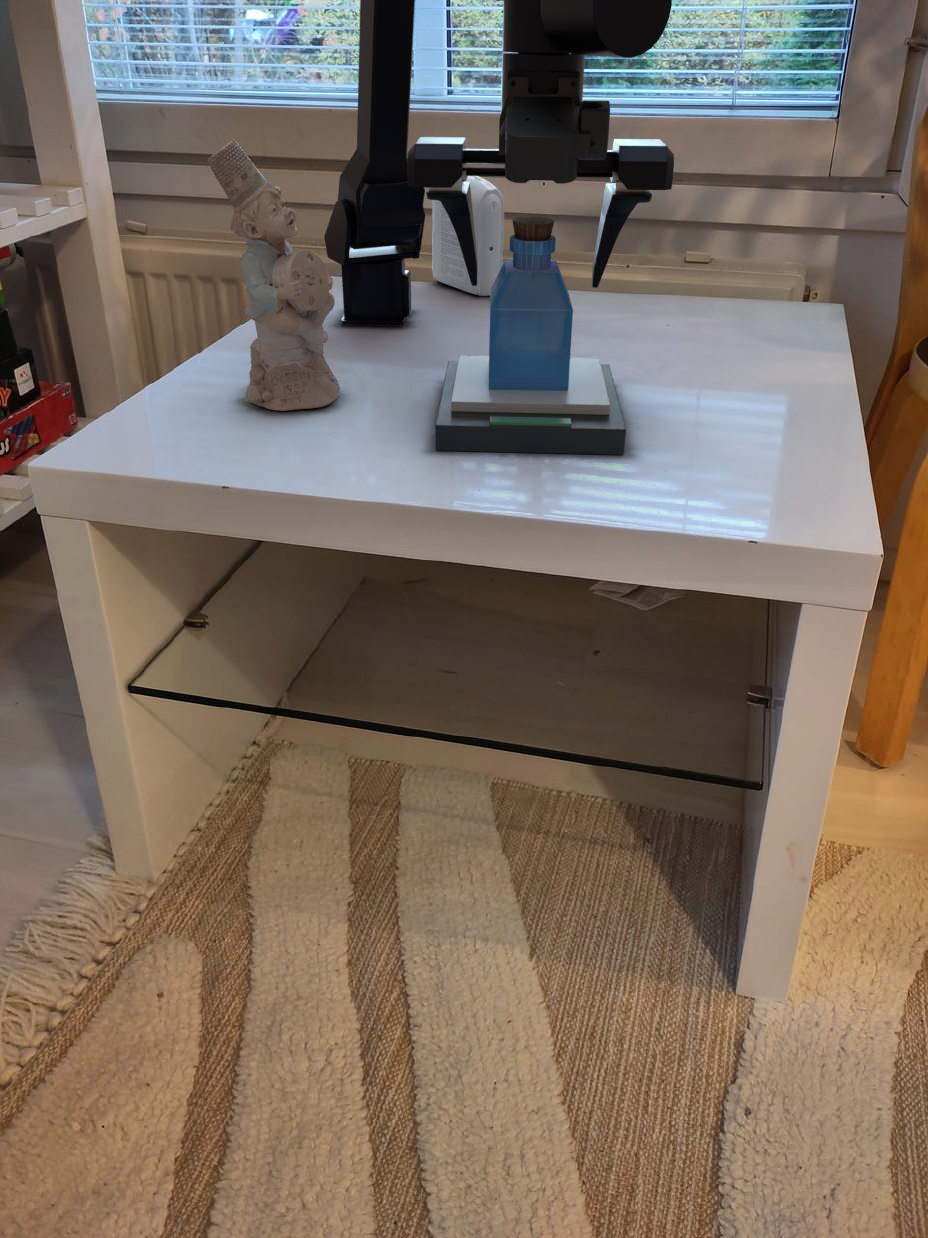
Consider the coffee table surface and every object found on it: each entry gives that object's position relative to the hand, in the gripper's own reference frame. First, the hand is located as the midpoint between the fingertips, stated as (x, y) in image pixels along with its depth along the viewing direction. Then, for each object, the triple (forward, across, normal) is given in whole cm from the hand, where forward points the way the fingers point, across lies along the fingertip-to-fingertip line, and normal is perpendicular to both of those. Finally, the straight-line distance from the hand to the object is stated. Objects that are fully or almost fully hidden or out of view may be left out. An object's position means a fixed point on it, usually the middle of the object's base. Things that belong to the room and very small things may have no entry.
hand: (534, 285), depth 78 cm
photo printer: (+10, -7, +43) cm, 45 cm away
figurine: (+10, -20, +2) cm, 23 cm away
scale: (+10, 0, -1) cm, 10 cm away
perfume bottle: (+8, 0, 0) cm, 8 cm away
